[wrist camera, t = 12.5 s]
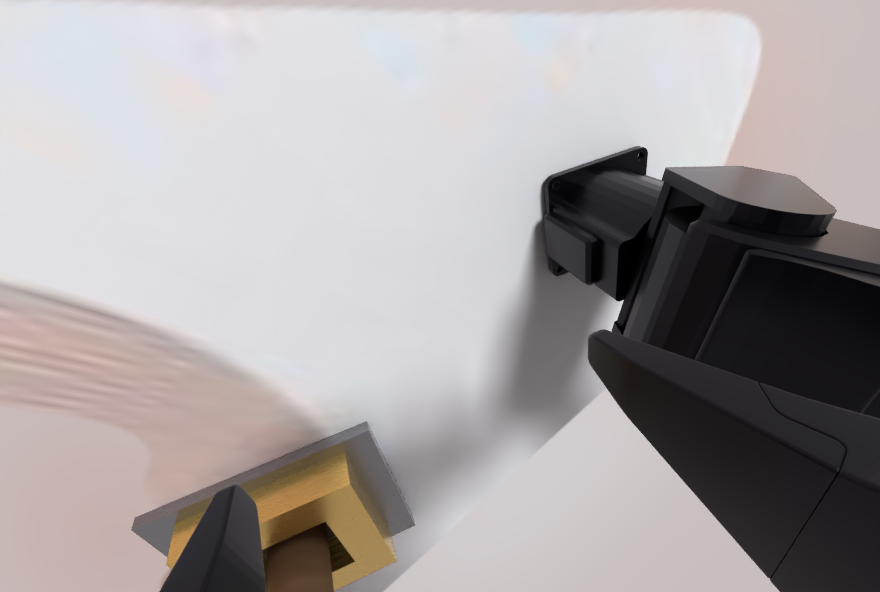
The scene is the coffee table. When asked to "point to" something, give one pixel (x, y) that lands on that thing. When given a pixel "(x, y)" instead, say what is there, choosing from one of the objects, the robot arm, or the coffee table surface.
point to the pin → (301, 563)
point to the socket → (306, 505)
